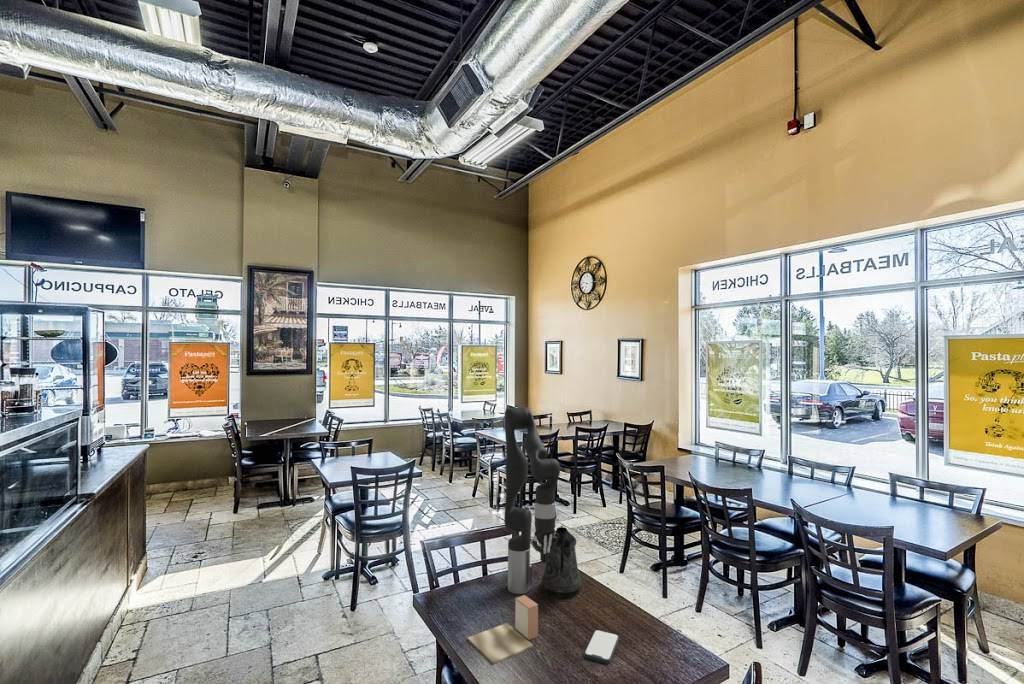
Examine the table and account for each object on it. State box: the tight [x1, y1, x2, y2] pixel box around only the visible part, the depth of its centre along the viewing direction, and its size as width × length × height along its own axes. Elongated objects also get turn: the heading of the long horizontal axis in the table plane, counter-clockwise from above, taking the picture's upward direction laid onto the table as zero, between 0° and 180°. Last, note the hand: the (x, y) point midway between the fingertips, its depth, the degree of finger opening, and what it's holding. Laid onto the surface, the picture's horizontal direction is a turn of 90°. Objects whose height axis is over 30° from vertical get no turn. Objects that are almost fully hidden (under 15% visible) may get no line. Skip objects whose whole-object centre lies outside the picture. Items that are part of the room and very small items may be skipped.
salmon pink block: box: [514, 594, 539, 641], centre depth 172 cm, size 4×8×11 cm, turn 35°
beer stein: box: [541, 526, 582, 599], centre depth 203 cm, size 16×19×25 cm
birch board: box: [467, 622, 534, 665], centre depth 166 cm, size 16×16×1 cm
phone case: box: [583, 629, 620, 665], centre depth 164 cm, size 9×2×16 cm
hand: (544, 562), depth 177 cm, fingers closed
